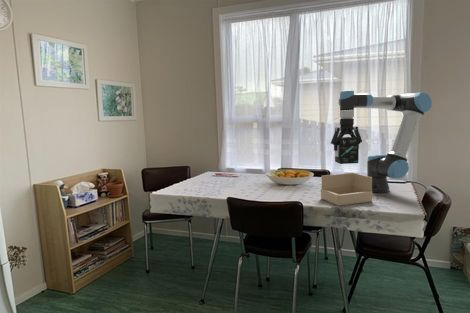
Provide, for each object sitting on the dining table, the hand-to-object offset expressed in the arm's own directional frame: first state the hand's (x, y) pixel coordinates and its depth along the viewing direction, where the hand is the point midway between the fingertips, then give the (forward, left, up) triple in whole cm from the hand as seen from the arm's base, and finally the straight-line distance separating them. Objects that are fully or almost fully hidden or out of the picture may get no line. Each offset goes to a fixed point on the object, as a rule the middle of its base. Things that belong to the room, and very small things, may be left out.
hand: (346, 155), depth 192 cm
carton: (0, 0, -26) cm, 26 cm away
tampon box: (0, 0, -4) cm, 4 cm away
